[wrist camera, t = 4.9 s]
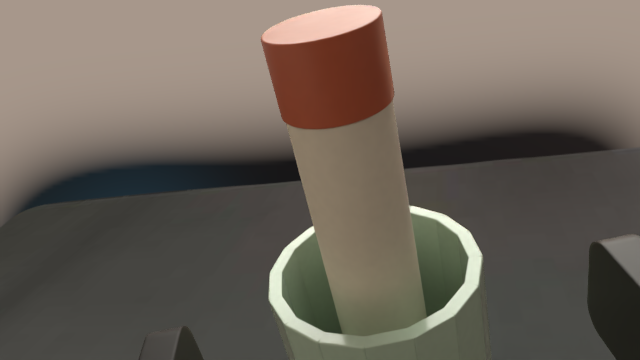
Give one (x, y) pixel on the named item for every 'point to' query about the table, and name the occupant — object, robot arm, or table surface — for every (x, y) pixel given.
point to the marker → (350, 161)
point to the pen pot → (399, 345)
